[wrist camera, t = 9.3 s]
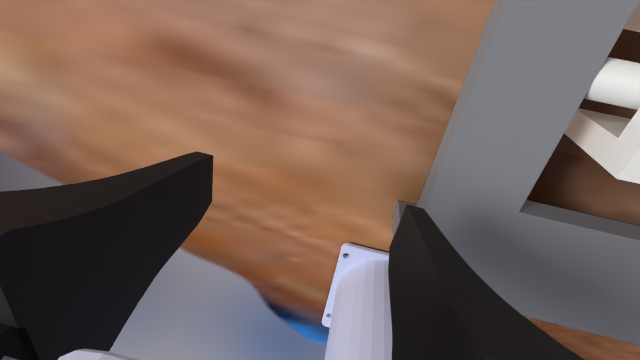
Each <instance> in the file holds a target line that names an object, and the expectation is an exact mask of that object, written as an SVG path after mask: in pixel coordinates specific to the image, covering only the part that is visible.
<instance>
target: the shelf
mask: <svg viewBox="0 0 640 360" xmlns="http://www.w3.org/2000/svg"><path fill="white" fill-rule="evenodd" d="M638 2H639V0H495V2H494V5H493V8H492V10H491V13H490V15H489V18H488V21H487V23H486V26H485V28H484V31H483V34H482V36H481V39H480V42H479V44H478V47H477V49H476V52H475V55H474V57H473V60H472V63H471V65H470V68H469V70H468V73H467V76H466V78H465V81H464V84H463V86H462V89H461V91H460V94H459V97H458V99H457V102H456V105H455V107H454V110H453V112H452V115H451V118H450V120H449V123H448V126H447V128H446V131H445V133H444V136H443V139H442V141H441V144H440V147H439V149H438V152H437V154H436V157H435V160H434V162H433V165H432V167H431V170H430V173H429V175H428V178H427V181H426V183H425V186H424V188H423V191H422V194H421V196H420V199H419V202H418V204H417V205H416V204H411V203H407V202H403V201H399V200H398V203H397V206H396V209H395V211H394V214H393V217H392V220H393V238H394V235H395V233H396V230H397V228H398V225H399V222H400V220H401V217H402V215H403V212H404V210H405V207H406V205H407V204H408V205H412V206H416V207H420V208H424V209H425V211H426V212H427V213H428V214H429V216H430V217H431V218H432V220H433V221H434V222H435V224H436V225H437V227H438V228H439V229H440V231H441V232H442V233H443V235H444V236H445V237H446V238H447V240H448V241H449V242H450V244H451V245H452V246H453V247H454V249H455V250H456V251H457V252H458V253H459V255H460V256H461V257H462V258H463V259H464V260H465V261H466V263H467V264H468V265H469V266H470V267H471V268H472V269H473V270H474V271H475V273H476V274H477V275H478V276H479V277H480V278H481V279H482V280H483V281H484V282H485V283H486V284H488V285H489V286H490V287H491V288H492V289H493V290H494V291H495V292H496V293H497V294H498V295H499V296H500V297H501V298H502V299H504V300H505V301H506V302H507V303H508V304H509V305H511V306H512V307H513V308H514V309H515V310H517V311H518V312H519V313H520V314H521V315H523V316H525V317H529V318H533V319H537V320H541V321H545V322H549V323H553V324H557V325H561V326H565V327H568V328H572V329H576V330H580V331H584V332H588V333H592V334H596V335H600V336H604V337H608V338H612V339H616V340H620V341H623V342H627V343H631V344H635V345H639V346H640V226H636V225H632V224H628V223H623V222H619V221H615V220H610V219H606V218H602V217H598V216H593V215H589V214H585V213H580V212H576V211H572V210H567V209H563V208H559V207H554V206H550V205H546V204H541V203H537V202H533V201H529V200H526V199H527V197H528V195H529V194H530V192H531V190H532V188H533V187H534V185H535V183H536V181H537V179H538V178H539V176H540V174H541V172H542V171H543V169H544V167H545V165H546V164H547V162H548V160H549V158H550V157H551V155H552V153H553V151H554V150H555V148H556V146H557V144H558V143H559V141H560V139H561V137H562V136H563V134H564V132H565V130H566V129H567V127H568V125H569V123H570V122H571V120H572V118H573V116H574V115H575V113H576V111H577V109H578V107H579V106H580V104H581V102H582V100H583V99H588V100H593V101H597V102H602V103H607V104H612V105H616V106H621V107H626V108H631V109H636V110H638V109H639V108H640V63H636V62H631V61H626V60H621V59H616V58H611V57H608V55H609V53H610V51H611V50H612V48H613V46H614V44H615V43H616V41H617V39H618V37H619V36H620V34H621V32H622V30H623V28H624V27H625V25H626V23H627V21H628V20H629V18H630V16H631V14H632V13H633V11H634V9H635V7H636V6H637V4H638Z"/></svg>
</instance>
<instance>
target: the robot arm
mask: <svg viewBox="0 0 640 360" xmlns="http://www.w3.org/2000/svg"><path fill="white" fill-rule="evenodd" d="M212 180H213V155H209V154H205V153H201V152H193V153H189V154H186V155H182V156H179V157H176V158H173V159H170V160H167V161H164V162H160V163H157V164H154V165H151V166H148V167H144V168H141V169H137V170H134V171H130V172H126V173H123V174H119V175H115V176H111V177H107V178H102V179H98V180H92V181H87V182H82V183H76V184H69V185H62V186H55V187H47V188H39V189H31V190H30V189H29V190H18V191H3V192H0V360H137V359H133V358H129V357H126V356H122V355H119V354H115V353H112V352H109V350H110V348H111V347H112V345H113V343H114V342H115V340H116V338H117V337H118V335H119V333H120V332H121V330H122V328H123V326H124V325H125V323H126V322H127V320H128V318H129V317H130V315H131V314H132V312H133V310H134V309H135V307H136V306H137V304H138V302H139V301H140V299H141V298H142V296H143V295H144V293H145V292H146V290H147V289H148V287H149V285H150V284H151V282H152V281H153V279H154V278H155V276H156V275H157V274H158V273H159V271H160V270H161V268H162V267H163V266H164V265H165V264H166V262H167V261H168V260H169V259H170V257H171V256H172V255H173V254H174V253H175V251H176V250H177V249H178V248H179V247H180V245H181V244H182V243H183V242H184V241H185V239H186V238H187V237H188V236H189V235H190V233H191V232H192V231H193V230H194V228H195V227H196V226H197V225H198V223H199V222H200V220H201V219H202V217H203V216H204V214H205V212H206V211H207V209H208V207H209V206H210V204H211V202H212ZM345 253H347V254H349V255H345ZM322 324H323V325H324V326H326V327H330V330H329V336H328V342H327V348H326V354H325V360H584V359H583V358H581V357H580V356H578V355H577V354H575V353H573V352H572V351H570V350H569V349H567V348H566V347H564V346H563V345H561V344H560V343H559V342H557V341H556V340H555V339H553V338H552V337H550V336H549V335H548V334H546V333H545V332H543V331H542V330H541V329H539V328H538V327H537V326H535V325H534V324H533V323H532V322H530V321H529V320H528V319H526V318H525V317H524V316H523V315H521V314H520V313H519V312H518V311H517V310H515V309H514V308H513V307H512V306H511V305H509V304H508V303H507V302H506V301H505V300H504V299H502V298H501V297H500V296H499V295H498V294H497V293H496V292H495V291H494V290H493V289H492V288H491V287H490V286H489V285H488V284H486V283H485V282H484V281H483V280H482V279H481V278H480V277H479V276H478V275H477V274H476V273H475V271H474V270H473V269H472V268H471V267H470V266H469V265H468V264H467V263H466V261H465V260H464V259H463V258H462V257H461V256H460V255H459V253H458V252H457V251H456V250H455V249H454V247H453V246H452V245H451V244H450V242H449V241H448V240H447V238H446V237H445V236H444V235H443V233H442V232H441V231H440V229H439V228H438V227H437V225H436V224H435V222H434V221H433V220H432V218H431V217H430V216H429V214H428V213H427V212H426V211H425V209H424V208H420V207H416V206H412V205H408V204H407V205H406V207H405V210H404V212H403V215H402V217H401V220H400V222H399V225H398V228H397V230H396V233H395V235H394V238H393V240H392V243H391V245H390V250H389V253H387V252H383V251H379V250H375V249H371V248H367V247H363V246H359V245H355V244H351V243H345V244H343V245H342V247H341V251H340V255H339V258H338V262H337V266H336V270H335V273H334V277H333V281H332V285H331V288H330V292H329V296H328V300H327V303H326V307H325V311H324V315H323V318H322Z"/></svg>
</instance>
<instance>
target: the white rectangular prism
mask: <svg viewBox="0 0 640 360" xmlns="http://www.w3.org/2000/svg"><path fill="white" fill-rule="evenodd" d="M623 29H626V30H631V31H636V32H640V0H639V2H638V4H637V6H636V7H635V9H634V11H633V13H632V14H631V16H630V18H629V20H628V21H627V23H626V25H625V27H624V28H623ZM564 134H566V135H567V136H568V137H569V138H570V139H571V140H573V141H574V142H575V143H576V144H577V145H578V146H579V147H581V148H582V149H583V150H584V151H585V152H586V153H587V154H589V155H590V156H591V157H592V158H593V159H594V160H595V161H597V162H598V163H599V164H600V165H601V166H602V167H604V168H605V169H606V170H607V171H608V172H609V173H610V174H612V175H613V176H614V177H615V178H616V179H620V180H624V181H629V182H633V183H638V184H640V108H639V109H638V111H637V112H636V113H635V115H634V116H633V118H632V119H629V118H624V117H619V116H614V115H609V114H604V113H599V112H595V111H590V110H585V109H580V108H578V109H577V111H576V113H575V115H574V116H573V118H572V120H571V122H570V123H569V125H568V127H567V129H566V130H565V132H564Z"/></svg>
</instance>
